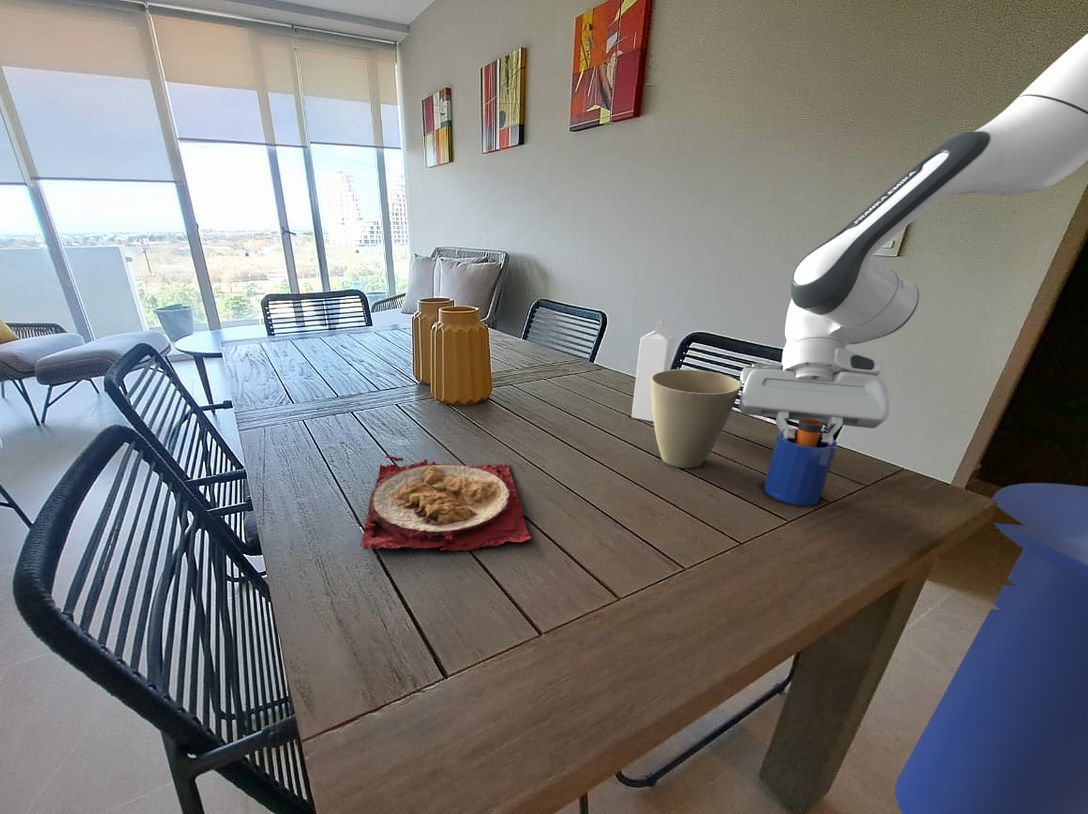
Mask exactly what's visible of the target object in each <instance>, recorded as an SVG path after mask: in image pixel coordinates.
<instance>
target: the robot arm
mask: <svg viewBox="0 0 1088 814" xmlns="http://www.w3.org/2000/svg"><path fill="white" fill-rule="evenodd" d="M1087 161H1088V33H1087V34H1085V35H1084V36H1082V37H1081V38H1080V39H1079V40H1078V41H1077V42H1076V43H1074V44H1073V45H1072V46H1071V47H1069V48H1068V50H1067V51H1065V52H1064V53H1063V54H1062V55H1060V57H1059V58H1058V59H1056V60H1055V61H1054V62H1053V63H1052V64H1051V65H1050V66H1049V67H1047V68H1046V69H1045V70H1044V71H1043V72H1042V73H1041V74H1040V75H1039V76H1038V77H1037V78H1036V79H1035V80H1033V81H1032V82H1031V83H1030V85H1028V86H1027V87H1026V88H1025V89H1024V90H1023V91H1022V92H1021V93H1020V95H1019V96H1018V97H1016V99H1014V100H1013V102H1011V104H1009V106H1007V107H1006V108H1005V109H1004V110H1003V111H1002V112H1000V113H999V114H998V115H997V116H995V117H994V118H992V119H991V120H990V121H989V122H987V123H986V124H984V125H982V126H981V127H979V128H977V129H976V130H974V131H966V132H962V133H959V134H957V135H954V136H953V137H950V138H949V139H948V140H945V141H944V142H943V143H942V144H940V145H939V146H937V147H936V148H935V149H933V150H932V151H931V152H930V153H929V154H927V155H926V156H925V157H923V158H922V159H921V160H920V161H919V162H918V163H916V164H915V165H914V166H913V167H911V168H910V169H909V170H908V171H907V172H906V173H905V174H904V175H902V176H901V177H900V178H898V180H896V182H895V183H893V184H892V185H891V186H889V188H888V189H887V190H885V191H884V192H883V193H882V194H881V195H880V196H878V197H877V198H876V199H875V200H874V201H873V202H872V203H870V204H869V205H868V206H867V207H866V208H865V209H863V211H861V212H860V213H859V214H858V215H857V216H856V217H855V218H854V219H852V220H851V221H850V222H849V223H848V224H847V225H845V226H843V228H842V229H841V230H840V231H838V232H837V233H836V234H834V235H833V236H832V237H830V238H829V239H827V240H826V241H824V242H823V243H821V244H820V245H818V246H816V247H815V248H814V249H813V250H812V251H810V252H809V253H808V254H807V255H806V256H804V257H803V258H802V259H801V260H800V261H799V263H798V264H797V265H796V267H795V269H794V270H793V272H792V276H791V279H790V281H791V282H790V294H791V295H790V296H791V299H790V302H789V305H788V308H787V313H786V318H785V326H784V337H785V340H786V343H785V346H784V347H783V350H782V355H781V364H772V363H771V364H770V363H768V364H766V363H765V364H762V363H759V362H756V363H752V364H750V365H747V366H745V367H743V368H742V370H741V373H740V383H741V385H743V388H742V391H741V394H740V398H739V402H738V410H739V411H740V412H741V413H742V414H743V415H749V416H756V417H757V416H758V417H766V418H775V425H776V426H777V428H778V429H779V431H781V432H782V437H783V438H784V439H786V440H788V441H789V442H792V443H793V441H794V440H795V432H796V430H795V429H796V428H790V426H789V424H788V423H787V421H788V420H792V421H793V420H795V421H799V420H800V419H814V420H818V421H821V422H822V423H823V424H827V429H828V430H830V431H829V432H822V433H821V435H820V436H819V443H818V446H820V447H830V446H832V443H833V439H834V435H835V434H836V433H837V432H838V430H840V428H841V427H842V426H847V427H848V426H849V427H857V428H865V429H875V428H877V427H879V426H880V425H882V424H883V423H884V422H885V421H886V420H887V419H888V417H889V415H890V400H889V392H888V385H887V384H886V381H885V380H884V379H883V378H882V377H881V376H880V374H881V372H882V370H883V363H882V361H880V360H878V359H875V358H872V357H869V356H866V355H862V354H859V353H857V352H853V351H850V350H849V349H847V346H848V345H859V344H862V343H866V342H869V341H874V340H877V339H880V338H884V337H886V336H889V335H891V334H893V333H895V332H897V331H898V330H900V329H902V328H903V327H904V326H905V325H906V324H907V323H908V322H909V320H910V319H912V317H913V315H914V313H915V312H916V310H917V308H918V304H919V300H920V292H919V289H918V287H917V286H916V285H915V284H914V283H912V282H910V281H909V280H908V279H907V278H906V277H903V276H902V275H901V274H899V273H897V272H896V271H894V270H893V269H890V268H888V267H887V266H885V265H883V264H882V263H881V262H879V261H877V260H876V259H875V258H874V256H875V254H876V253H877V252H878V250H880V248H882V247H883V246H885V245H886V244H887V243H888V242H889V241H891V239H893V238H894V237H895V236H897V235H898V234H899V233H900V232H902V231H903V230H904V229H906V227H907V226H909V225H910V224H911V223H912V222H913V221H914V220H916V219H917V218H918V217H919V216H921V215H922V214H923V213H924V212H926V211H927V210H928V209H929V208H931V207H932V206H934V205H935V204H937V203H939V202H941V201H943V200H945V199H948V198H950V197H954V196H958V195H959V196H960V195H983V196H990V197H1014V196H1015V197H1016V196H1022V195H1026V194H1030V193H1031V194H1032V193H1033V192H1034V193H1035V192H1038V191H1041V190H1044V189H1046V188H1049V187H1051V186H1053V185H1055V184H1057V183H1059V182H1060V181H1062V180H1064V178H1066V177H1068V176H1069V175H1071V174H1072V173H1074V172H1075V171H1076V170H1077V169H1079V168H1080V167H1081V166H1083V165H1084V164H1085V163H1086V162H1087Z"/></svg>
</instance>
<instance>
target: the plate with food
mask: <svg viewBox="0 0 1088 814" xmlns="http://www.w3.org/2000/svg"><path fill="white" fill-rule="evenodd" d="M385 458H386V459H390V460H393V461H394V462H405V460H404V457H396V456H389V455H385ZM428 462H429V461H428V459H427V458H424V460H423V461H419V462H417V463H411V464H409V465H408V464H404V465H403V466H401V464H402V463H399V465H397V463H394V464H387V465H382V463H380V464H379V469H378V470H379V471H378V478H377V479H376V484H374V488H373V489H372V491H371V494H370V497H369V502H368V512H367V516H366V520H365V524H364V532H363V535H362V539H361V543H360V545H359V547H362V548H363V549H364V550H368V549H370V548H371V549H372V550H375V549H376V550H379V549H380V548H386V549H390V550H391V549H398V548H402V549H404V548H409V547H410V548H411V549H412V550H413V549H430V548H431V549H432V548H434V549H433V551H435V550H436V549H435V548H438V547H442V548H440V549H439V551H440V552H441V551H444V552H446V551H452V552H453V551H454V552H456V551H460V550H461V551H473V550H476V551H477V550H478V551H479V550H480V548H483V547H484V548H485V547H488V546H489V547H497V546H500V545H502V544H504V543H505V542H513V543H522V542H524V541H527V540H529V539H531V538H532V537H531V536H530V531H529V530H528V528H527V525H526V522H525V519H524V514H523V509H522V506H521V501H520V499H519V496H518V493H517V489H516V487H515V482H514V480H513V477H512V472H511V471H510V468H509V464H503V465H502V464H498V465H497V464H494V465H491V464H484V465H483V466H481V465H480V466H473V465H464V464H458V463H457V464H456V463H447V464H446V463H437V462H435V461H434V460H432V461H431V463H428ZM498 471H499V472H500V473H499V472H498Z"/></svg>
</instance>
